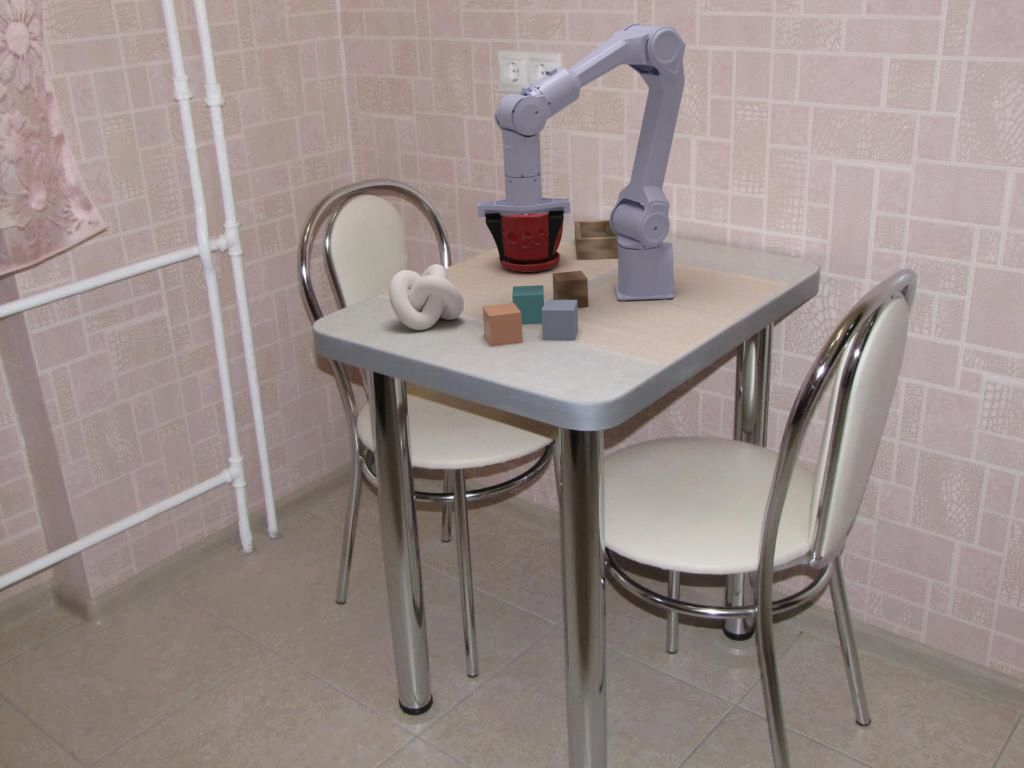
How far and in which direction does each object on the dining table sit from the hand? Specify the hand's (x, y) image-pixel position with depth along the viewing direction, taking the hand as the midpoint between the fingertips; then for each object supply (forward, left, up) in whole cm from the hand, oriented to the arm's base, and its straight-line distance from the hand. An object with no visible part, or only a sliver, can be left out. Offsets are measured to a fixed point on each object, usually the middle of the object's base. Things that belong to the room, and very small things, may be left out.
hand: (526, 258), depth 170 cm
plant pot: (0, -30, -10) cm, 32 cm away
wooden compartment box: (-16, -40, -10) cm, 44 cm away
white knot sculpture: (+16, 0, -10) cm, 19 cm away
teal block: (0, 0, -10) cm, 10 cm away
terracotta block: (+4, +9, -10) cm, 14 cm away
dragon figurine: (-15, -40, -11) cm, 44 cm away
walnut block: (-7, -7, -10) cm, 14 cm away
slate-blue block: (-5, +8, -10) cm, 14 cm away
